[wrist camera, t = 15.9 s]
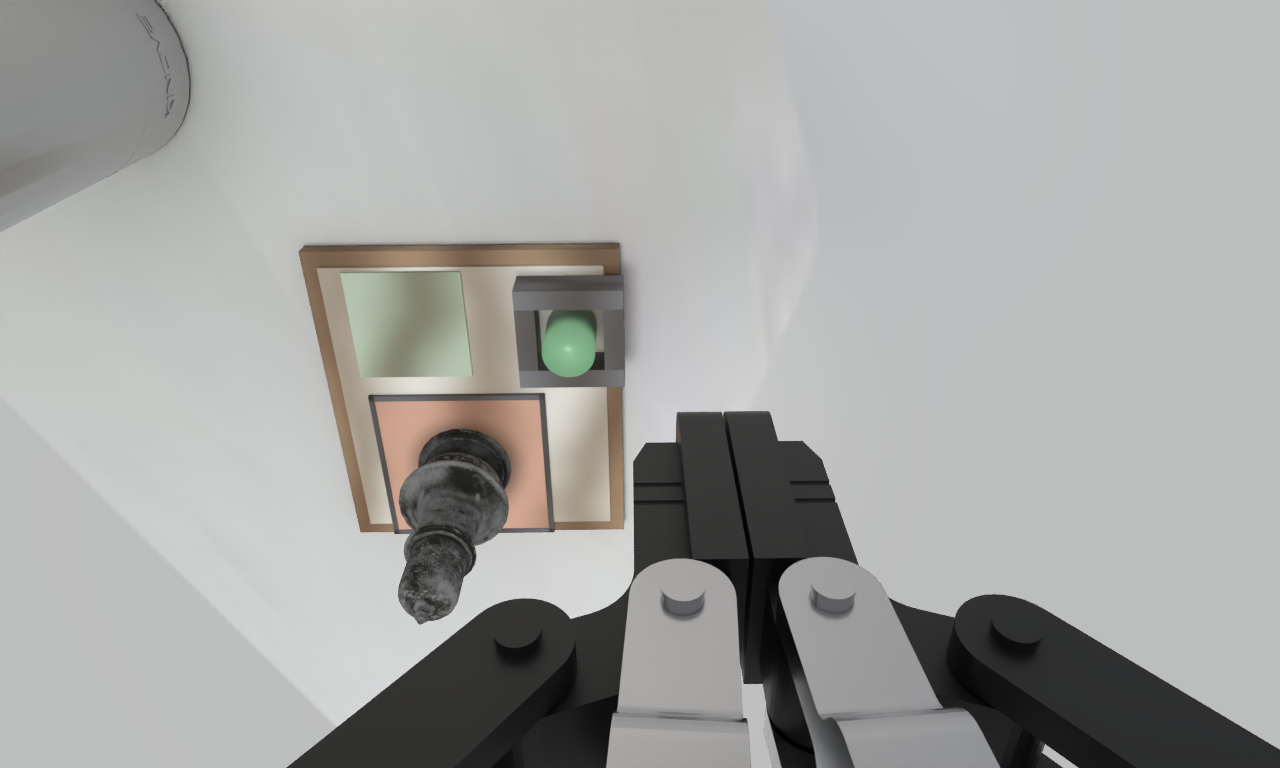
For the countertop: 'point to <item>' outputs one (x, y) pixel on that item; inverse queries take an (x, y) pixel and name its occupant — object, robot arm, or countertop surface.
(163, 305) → the countertop surface
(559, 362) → the button
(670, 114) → the countertop surface
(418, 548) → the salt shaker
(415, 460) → the picture board
